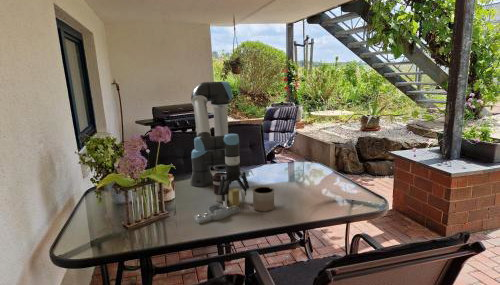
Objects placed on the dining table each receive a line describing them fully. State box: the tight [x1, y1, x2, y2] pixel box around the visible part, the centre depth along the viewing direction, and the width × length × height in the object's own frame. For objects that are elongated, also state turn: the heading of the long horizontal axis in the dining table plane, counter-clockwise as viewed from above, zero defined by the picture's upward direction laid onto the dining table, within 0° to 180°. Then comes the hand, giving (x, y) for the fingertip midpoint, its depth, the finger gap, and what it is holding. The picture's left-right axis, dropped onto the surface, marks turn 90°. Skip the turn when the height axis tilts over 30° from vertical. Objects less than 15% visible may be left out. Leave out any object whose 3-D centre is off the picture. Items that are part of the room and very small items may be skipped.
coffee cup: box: [212, 171, 230, 203], centre depth 174 cm, size 10×10×15 cm
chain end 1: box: [193, 204, 223, 225], centre depth 151 cm, size 8×11×4 cm
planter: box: [252, 186, 275, 212], centre depth 162 cm, size 11×11×10 cm
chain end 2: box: [214, 203, 240, 219], centre depth 157 cm, size 8×11×4 cm
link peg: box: [228, 188, 240, 206], centre depth 168 cm, size 4×4×8 cm
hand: (234, 204), depth 168 cm, fingers open, 11 cm apart
